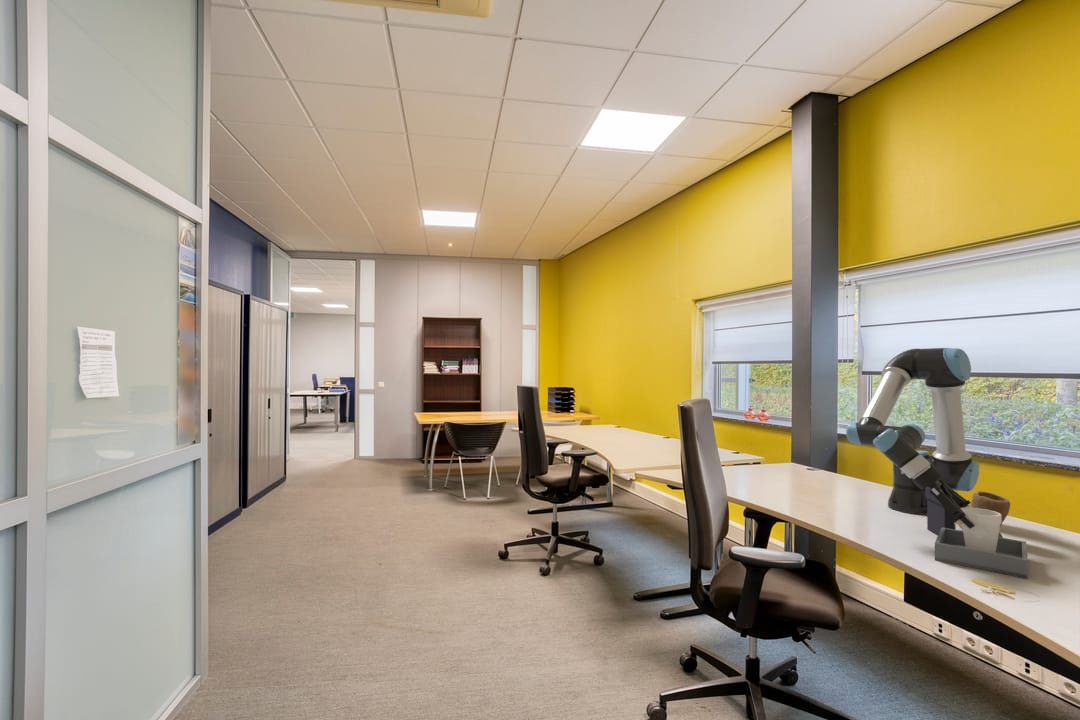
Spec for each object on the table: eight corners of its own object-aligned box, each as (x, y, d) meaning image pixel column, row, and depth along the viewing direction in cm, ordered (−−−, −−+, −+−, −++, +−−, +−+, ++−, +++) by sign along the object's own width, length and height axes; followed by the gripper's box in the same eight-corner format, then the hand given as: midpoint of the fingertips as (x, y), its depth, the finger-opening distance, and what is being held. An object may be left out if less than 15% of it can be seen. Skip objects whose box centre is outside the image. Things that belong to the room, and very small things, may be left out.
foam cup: (1009, 562, 149) (1009, 517, 149) (973, 560, 150) (973, 515, 150) (986, 550, 158) (986, 508, 158) (952, 549, 160) (952, 506, 160)
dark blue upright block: (957, 540, 171) (957, 494, 171) (942, 539, 171) (942, 494, 172) (939, 530, 181) (939, 487, 181) (925, 529, 182) (925, 486, 182)
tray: (941, 542, 168) (941, 527, 168) (1026, 558, 155) (1026, 541, 155) (934, 559, 154) (934, 542, 154) (1027, 579, 140) (1027, 560, 140)
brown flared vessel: (1015, 547, 165) (1015, 499, 165) (968, 541, 170) (968, 495, 170) (999, 533, 178) (999, 489, 178) (956, 528, 184) (956, 485, 184)
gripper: (916, 473, 175) (974, 527, 165) (905, 486, 156) (970, 548, 146) (935, 459, 171) (996, 514, 161) (927, 471, 153) (995, 534, 143)
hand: (984, 530), depth 154 cm, fingers open, 13 cm apart
